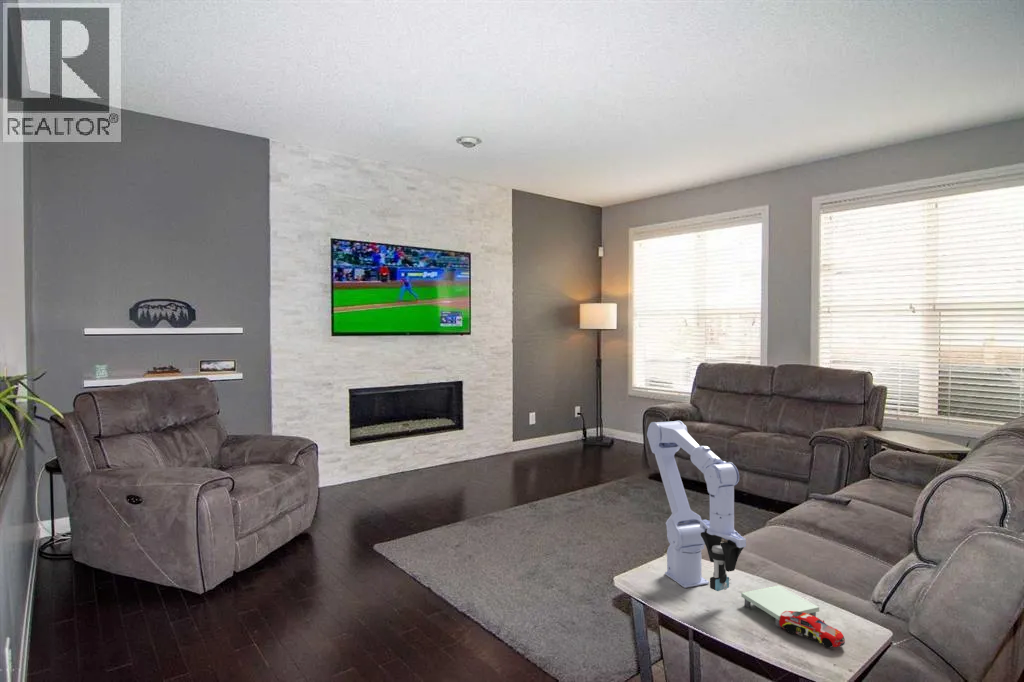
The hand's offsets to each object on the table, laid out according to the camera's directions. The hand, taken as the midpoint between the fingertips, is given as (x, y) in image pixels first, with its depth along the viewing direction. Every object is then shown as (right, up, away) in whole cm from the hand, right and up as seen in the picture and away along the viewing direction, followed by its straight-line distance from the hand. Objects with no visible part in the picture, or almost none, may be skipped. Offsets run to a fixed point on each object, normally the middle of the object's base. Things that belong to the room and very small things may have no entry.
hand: (722, 565), depth 135 cm
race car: (+14, -10, -15) cm, 23 cm away
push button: (0, -6, 0) cm, 6 cm away
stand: (+12, -10, -4) cm, 16 cm away
